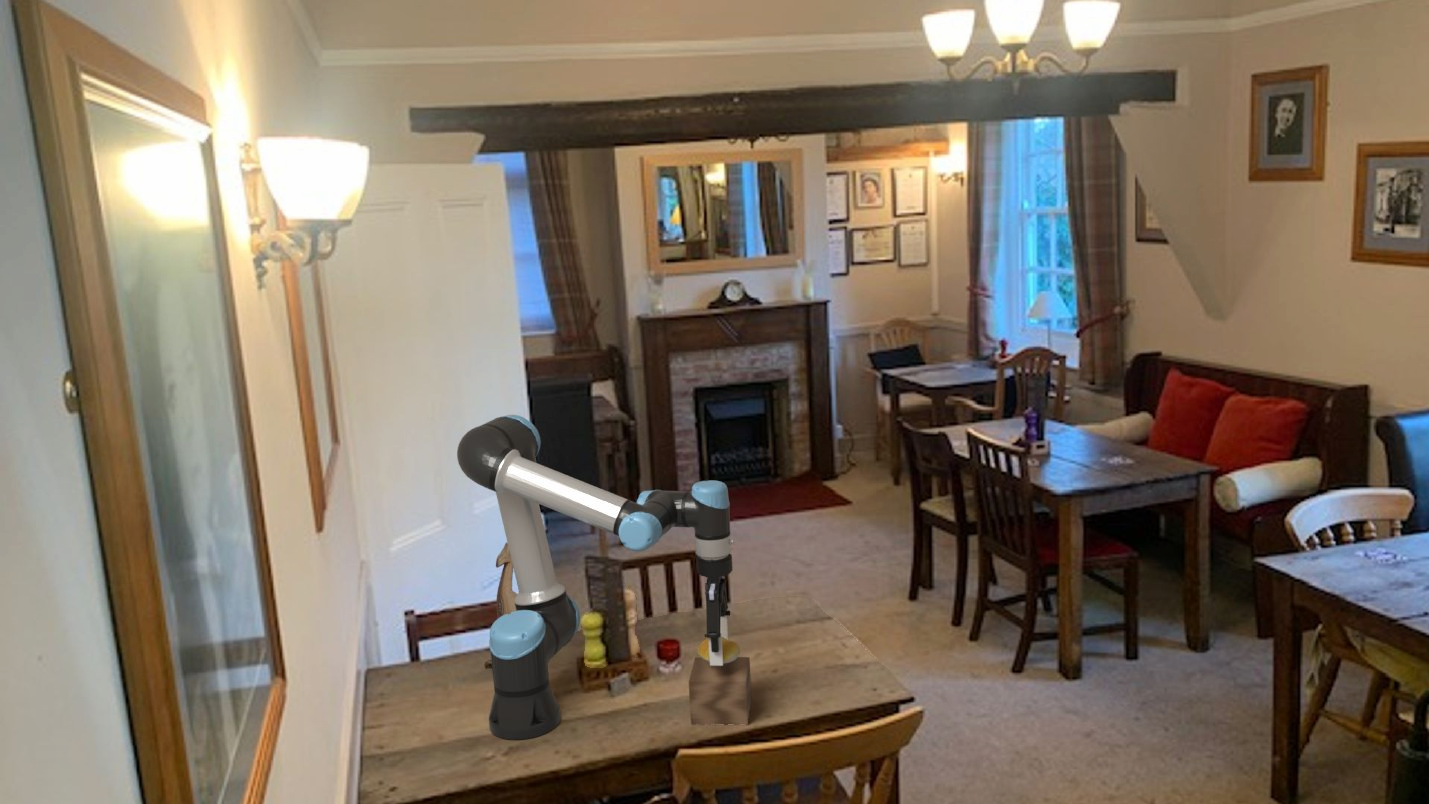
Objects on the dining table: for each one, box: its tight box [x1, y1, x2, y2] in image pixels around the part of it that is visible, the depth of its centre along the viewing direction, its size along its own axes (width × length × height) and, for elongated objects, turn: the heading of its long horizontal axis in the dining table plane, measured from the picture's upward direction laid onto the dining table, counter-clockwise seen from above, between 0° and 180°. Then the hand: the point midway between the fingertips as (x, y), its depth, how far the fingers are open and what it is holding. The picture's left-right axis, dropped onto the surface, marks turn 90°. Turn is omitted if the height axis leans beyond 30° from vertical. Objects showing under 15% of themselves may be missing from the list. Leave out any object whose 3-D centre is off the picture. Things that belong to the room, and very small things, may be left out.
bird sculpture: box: [484, 541, 518, 669], centre depth 254 cm, size 11×12×32 cm
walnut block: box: [688, 656, 752, 726], centre depth 229 cm, size 12×12×10 cm
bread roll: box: [697, 637, 741, 664], centre depth 227 cm, size 8×9×4 cm
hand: (719, 654), depth 227 cm, fingers closed on bread roll, 9 cm apart
